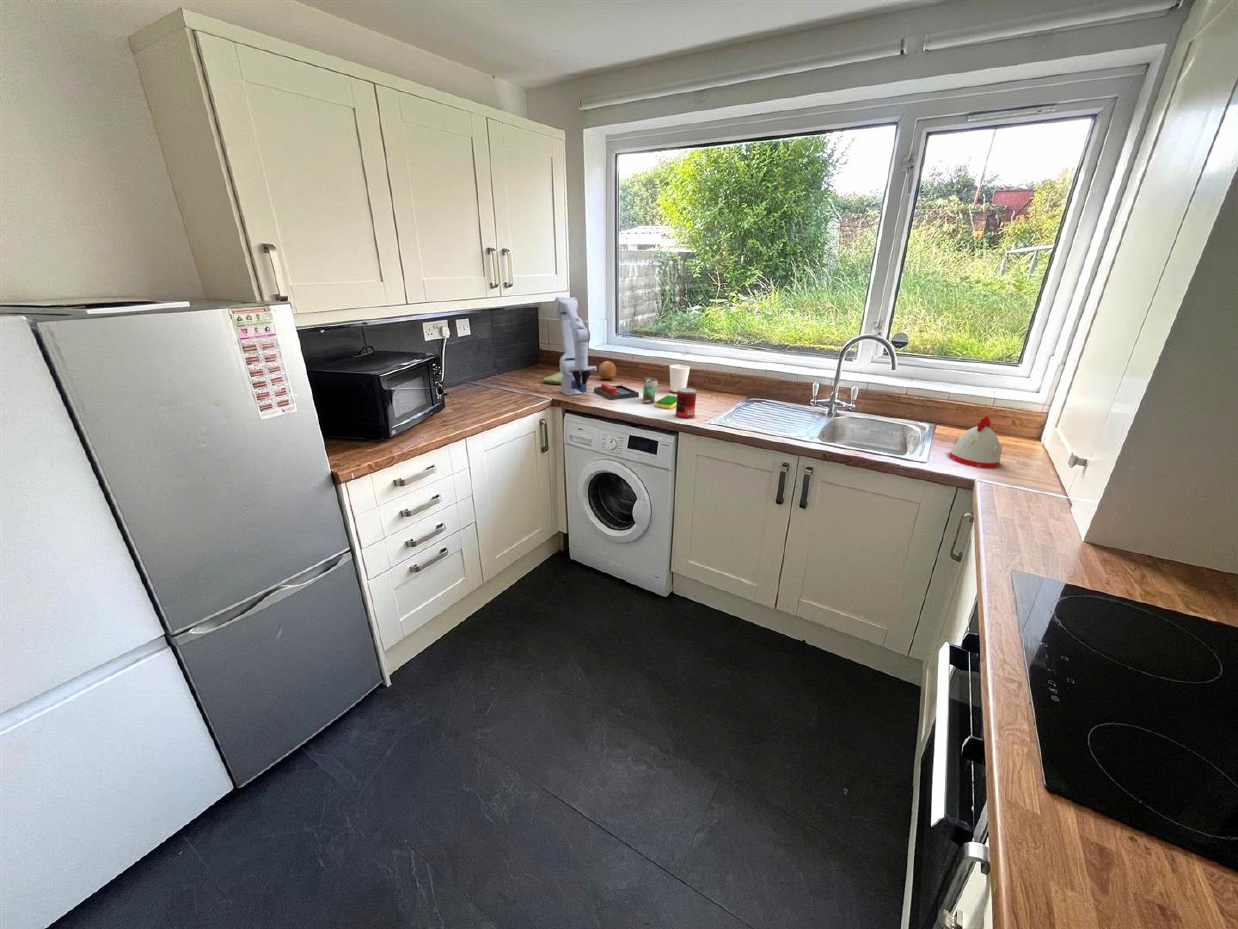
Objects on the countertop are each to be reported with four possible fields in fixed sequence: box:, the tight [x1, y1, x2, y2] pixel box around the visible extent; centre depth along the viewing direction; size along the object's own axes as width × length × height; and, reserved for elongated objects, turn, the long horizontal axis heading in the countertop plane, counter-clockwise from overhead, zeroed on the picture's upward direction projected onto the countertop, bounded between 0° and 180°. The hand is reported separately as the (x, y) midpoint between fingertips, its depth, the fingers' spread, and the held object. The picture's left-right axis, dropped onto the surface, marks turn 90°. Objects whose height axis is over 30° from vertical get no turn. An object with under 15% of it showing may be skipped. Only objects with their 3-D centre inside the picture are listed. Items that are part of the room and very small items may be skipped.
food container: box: [642, 376, 659, 405], centre depth 226 cm, size 12×6×10 cm, turn 179°
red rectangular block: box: [600, 383, 617, 395], centre depth 236 cm, size 4×11×3 cm, turn 28°
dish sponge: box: [655, 395, 677, 410], centre depth 223 cm, size 7×14×2 cm, turn 154°
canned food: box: [675, 387, 697, 419], centre depth 205 cm, size 8×8×11 cm
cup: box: [669, 364, 691, 394], centre depth 245 cm, size 10×10×13 cm
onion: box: [597, 360, 617, 381], centre depth 267 cm, size 10×10×10 cm
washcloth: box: [542, 371, 563, 386], centre depth 260 cm, size 13×18×3 cm
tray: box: [593, 384, 640, 401], centre depth 238 cm, size 15×17×2 cm
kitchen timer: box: [948, 416, 1003, 469], centre depth 164 cm, size 14×14×15 cm
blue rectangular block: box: [571, 380, 587, 394], centre depth 225 cm, size 4×11×3 cm, turn 28°
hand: (581, 387), depth 224 cm, fingers closed on blue rectangular block, 2 cm apart
